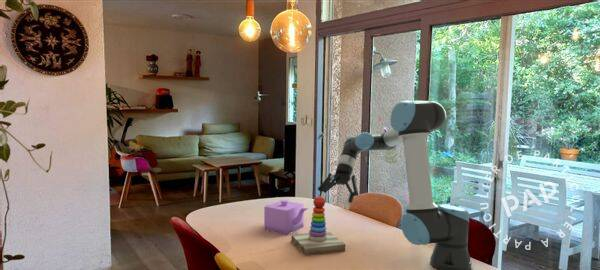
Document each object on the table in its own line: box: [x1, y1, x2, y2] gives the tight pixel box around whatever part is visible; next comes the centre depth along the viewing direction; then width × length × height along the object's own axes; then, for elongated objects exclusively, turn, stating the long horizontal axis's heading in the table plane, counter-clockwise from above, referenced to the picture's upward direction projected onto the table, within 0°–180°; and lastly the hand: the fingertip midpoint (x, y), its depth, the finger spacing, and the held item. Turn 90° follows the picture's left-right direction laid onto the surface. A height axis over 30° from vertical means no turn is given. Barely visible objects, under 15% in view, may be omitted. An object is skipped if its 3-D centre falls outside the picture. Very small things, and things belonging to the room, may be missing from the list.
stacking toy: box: [308, 195, 327, 241], centre depth 185 cm, size 8×8×19 cm
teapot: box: [263, 199, 309, 236], centre depth 209 cm, size 15×25×14 cm, turn 58°
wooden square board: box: [291, 230, 346, 256], centre depth 186 cm, size 18×18×3 cm
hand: (332, 207), depth 194 cm, fingers open, 13 cm apart
